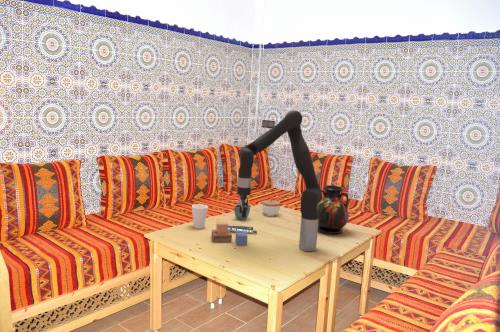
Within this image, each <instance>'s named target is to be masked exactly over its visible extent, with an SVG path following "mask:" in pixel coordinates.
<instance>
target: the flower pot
mask: <svg viewBox="0 0 500 332" xmlns="http://www.w3.org/2000/svg"><path fill="white" fill-rule="evenodd" d="M239 208H240V206H239V203H237V204H236V205H235V206H234V207H233V211H234V216H235V218H236V220H237V221H246V220H247V219H248V217H249V215H250V212H251V205H250V204H248V210H247V211H246V217H242V213H240V212H239ZM244 208H246V207H244Z"/></svg>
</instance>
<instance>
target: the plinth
mask: <svg viewBox="0 0 500 332" xmlns="http://www.w3.org/2000/svg"><path fill="white" fill-rule="evenodd" d="M232 235H233V234H232V233H231V230H230V229H227V234H217V232H216V229H211V239H212V244H213V243H214V244H215V243H218V244H219V243H232V239H233V238H232V237H233V236H232Z"/></svg>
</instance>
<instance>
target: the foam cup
mask: <svg viewBox="0 0 500 332" xmlns="http://www.w3.org/2000/svg"><path fill="white" fill-rule="evenodd" d="M208 208H209V207H208V205H206V204H201V203H200V204H198V203H197V204H196V203H195V204H192V206H191V211H192V219H193V220H192V221H193V228H194V229H198V230H199V229H200V230H201V229H204V228H205V227H206V225H205V224H206V219H207V215H208V210H209V209H208Z"/></svg>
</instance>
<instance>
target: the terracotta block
mask: <svg viewBox="0 0 500 332" xmlns="http://www.w3.org/2000/svg"><path fill="white" fill-rule="evenodd" d="M215 225H216V229H215V230H216V232H217V234H227V229H228V226H229V225H228V222H227V221H223V220H221V221H219V220H218V221H216V224H215Z"/></svg>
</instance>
